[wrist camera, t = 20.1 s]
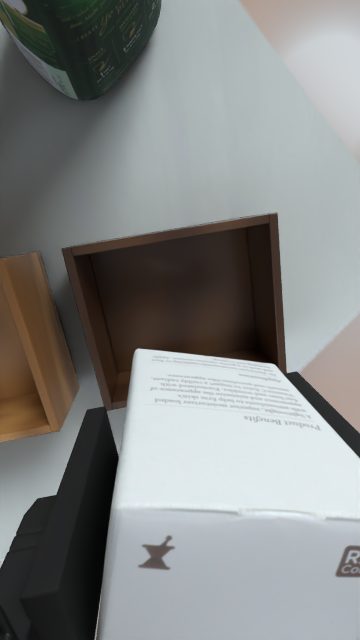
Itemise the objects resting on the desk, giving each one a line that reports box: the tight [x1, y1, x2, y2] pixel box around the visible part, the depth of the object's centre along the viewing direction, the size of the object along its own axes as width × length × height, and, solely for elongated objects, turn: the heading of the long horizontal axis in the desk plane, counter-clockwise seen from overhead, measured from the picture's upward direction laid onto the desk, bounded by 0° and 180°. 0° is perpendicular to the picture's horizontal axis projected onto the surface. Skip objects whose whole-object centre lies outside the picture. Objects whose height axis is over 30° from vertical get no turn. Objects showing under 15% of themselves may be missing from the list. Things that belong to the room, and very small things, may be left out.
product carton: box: [96, 349, 360, 640], centre depth 10 cm, size 6×6×7 cm
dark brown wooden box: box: [62, 213, 287, 411], centre depth 24 cm, size 14×12×6 cm
